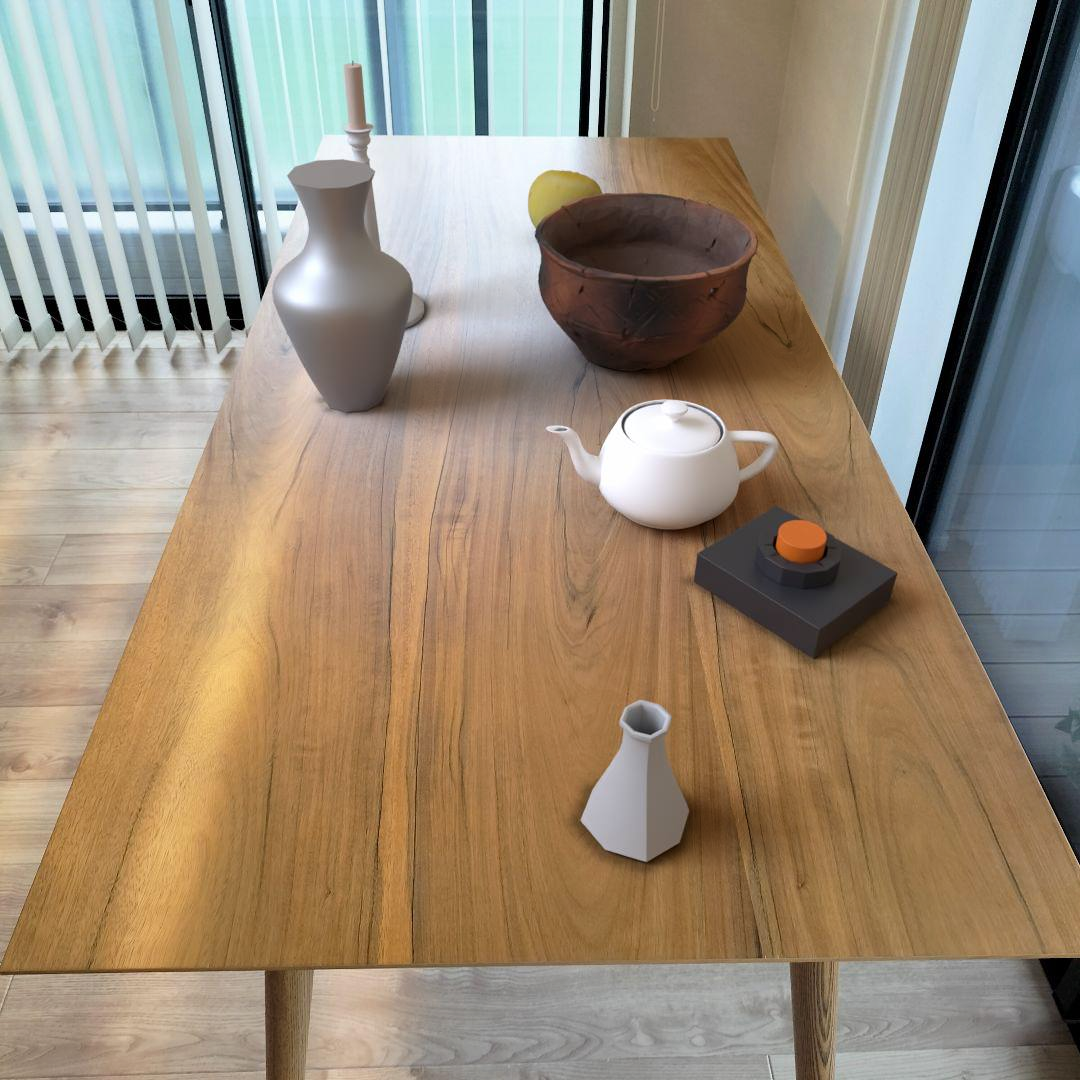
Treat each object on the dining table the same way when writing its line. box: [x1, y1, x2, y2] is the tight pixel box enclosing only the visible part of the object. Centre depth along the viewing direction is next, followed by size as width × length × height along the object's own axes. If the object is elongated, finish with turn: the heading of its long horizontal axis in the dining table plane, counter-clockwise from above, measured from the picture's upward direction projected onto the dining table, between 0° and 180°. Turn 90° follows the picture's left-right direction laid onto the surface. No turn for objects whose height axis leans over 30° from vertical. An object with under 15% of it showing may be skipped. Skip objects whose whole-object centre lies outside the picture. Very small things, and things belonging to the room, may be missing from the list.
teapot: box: [545, 399, 779, 531], centre depth 102 cm, size 22×14×11 cm, turn 93°
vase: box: [271, 158, 414, 413], centre depth 112 cm, size 14×14×25 cm
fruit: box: [527, 169, 603, 229], centre depth 154 cm, size 10×11×10 cm
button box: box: [693, 505, 899, 659], centre depth 93 cm, size 13×11×5 cm
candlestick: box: [341, 60, 425, 329], centre depth 128 cm, size 13×13×30 cm
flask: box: [580, 699, 690, 863], centre depth 72 cm, size 7×7×10 cm
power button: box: [776, 519, 827, 564], centre depth 91 cm, size 4×4×2 cm
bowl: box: [534, 192, 759, 372], centre depth 125 cm, size 25×25×15 cm
